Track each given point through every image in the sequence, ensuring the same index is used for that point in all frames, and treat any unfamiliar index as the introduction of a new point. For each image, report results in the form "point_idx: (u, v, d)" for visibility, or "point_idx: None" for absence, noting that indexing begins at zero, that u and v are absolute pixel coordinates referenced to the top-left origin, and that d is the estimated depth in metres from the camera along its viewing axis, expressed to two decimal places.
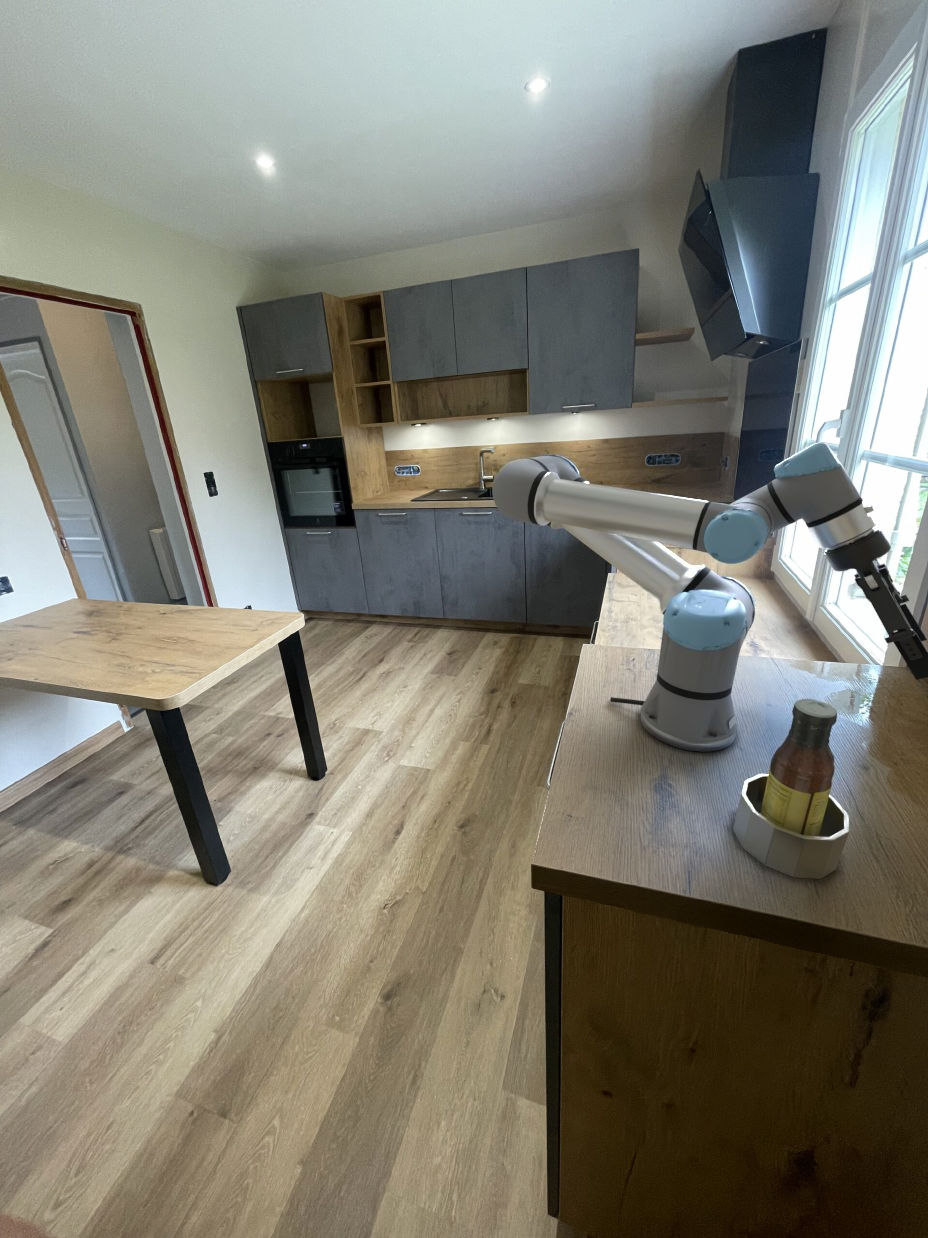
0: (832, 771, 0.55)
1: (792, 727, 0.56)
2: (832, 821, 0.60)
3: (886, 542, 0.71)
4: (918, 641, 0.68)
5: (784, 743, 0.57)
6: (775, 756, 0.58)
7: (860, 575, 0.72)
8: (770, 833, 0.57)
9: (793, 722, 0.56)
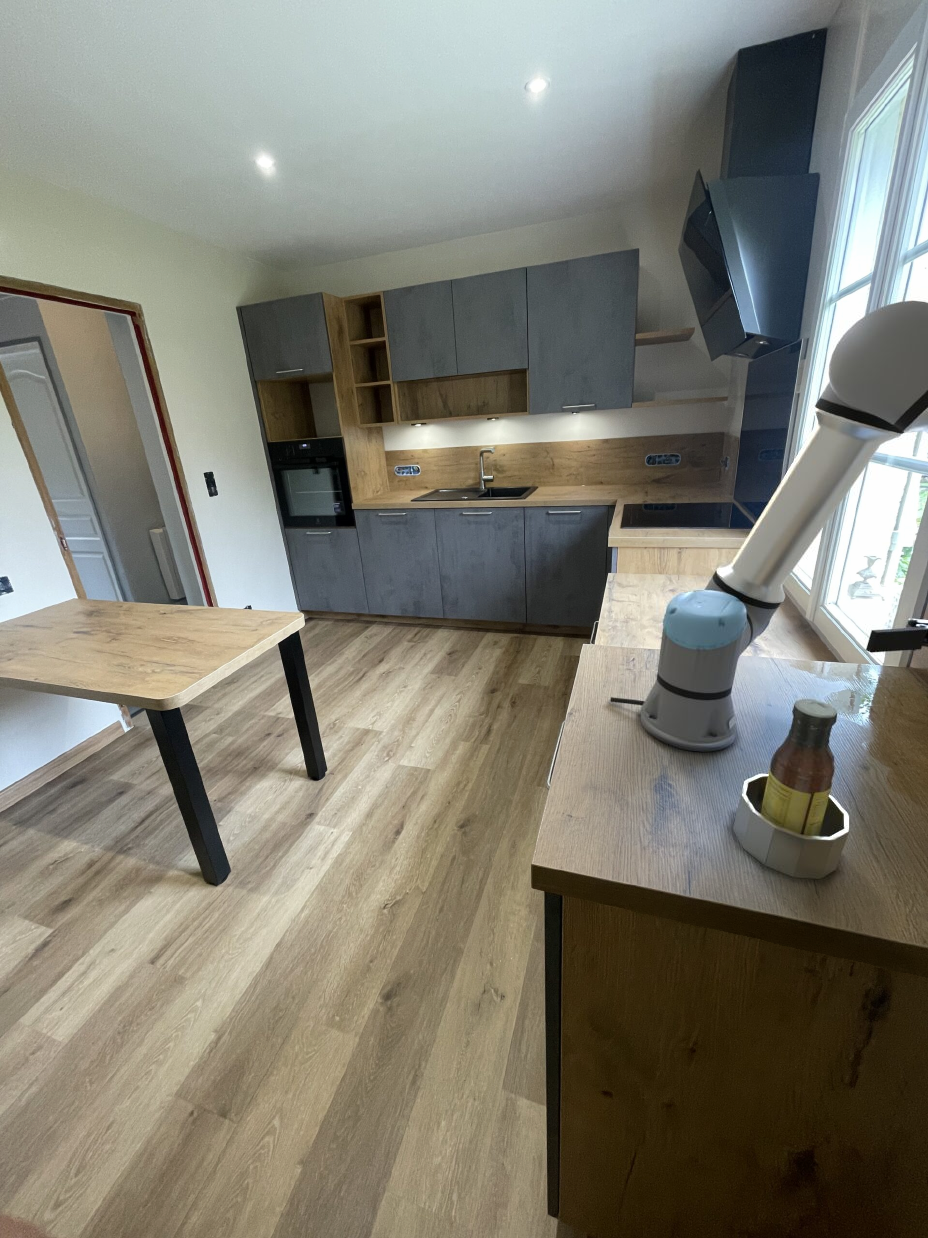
0: (832, 771, 0.55)
1: (792, 727, 0.56)
2: (832, 821, 0.60)
3: None
4: None
5: (784, 743, 0.57)
6: (775, 756, 0.58)
7: None
8: (770, 833, 0.57)
9: (793, 722, 0.56)
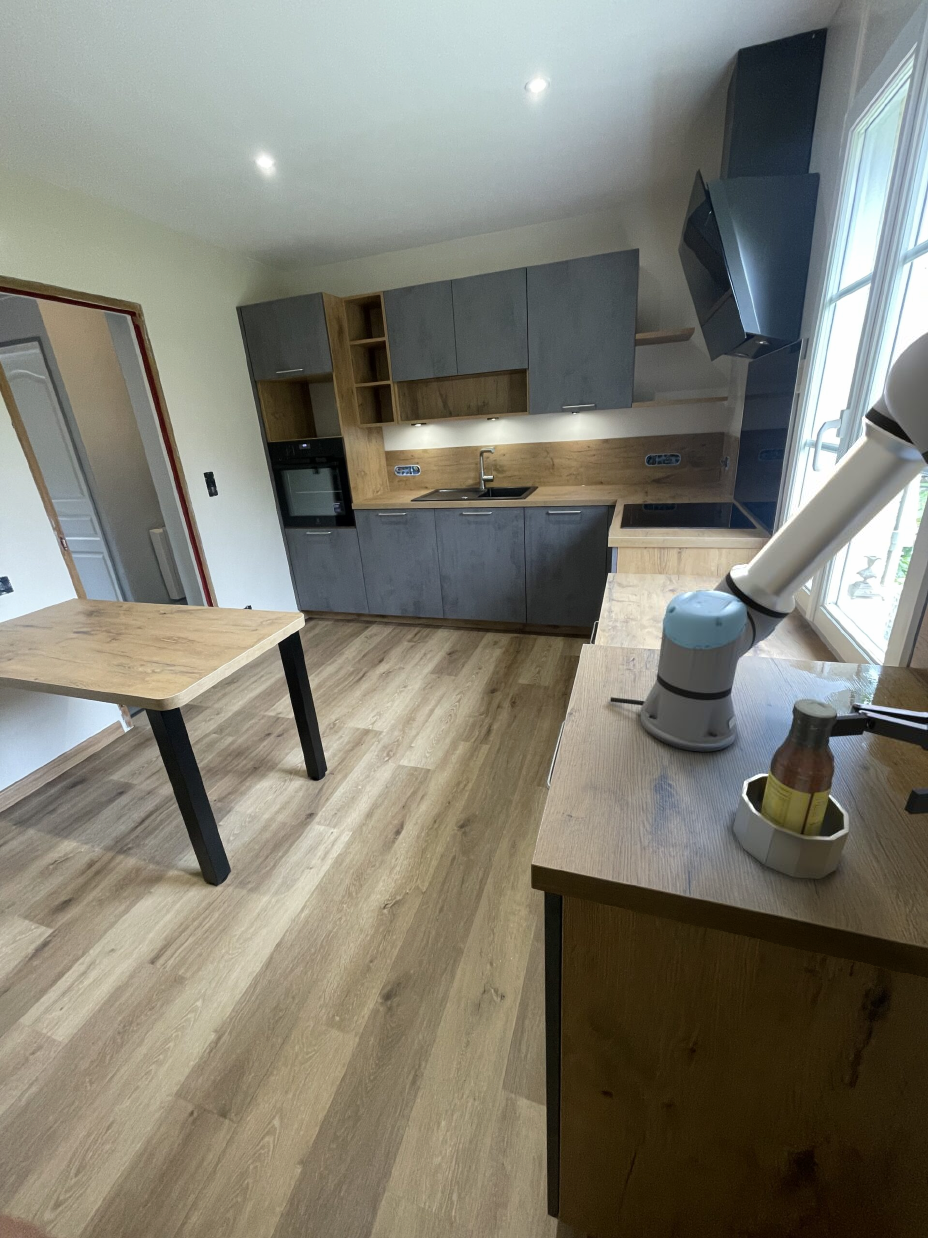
0: (832, 771, 0.55)
1: (792, 727, 0.56)
2: (832, 821, 0.60)
3: None
4: None
5: (784, 743, 0.57)
6: (775, 756, 0.58)
7: None
8: (770, 833, 0.57)
9: (793, 722, 0.56)
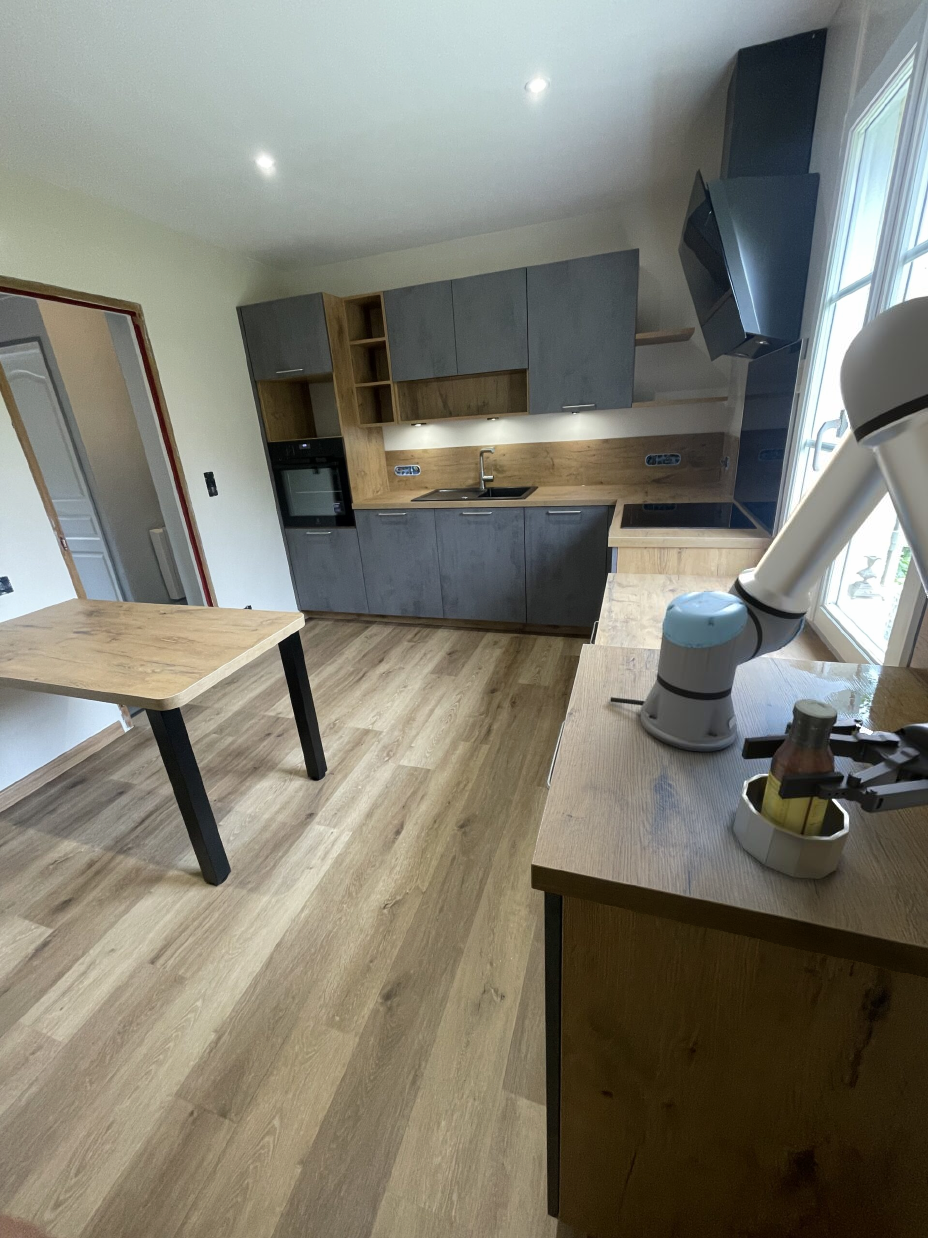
0: (832, 771, 0.55)
1: (792, 727, 0.56)
2: (832, 821, 0.60)
3: None
4: None
5: (784, 743, 0.57)
6: (775, 756, 0.58)
7: None
8: (770, 833, 0.57)
9: (793, 722, 0.56)
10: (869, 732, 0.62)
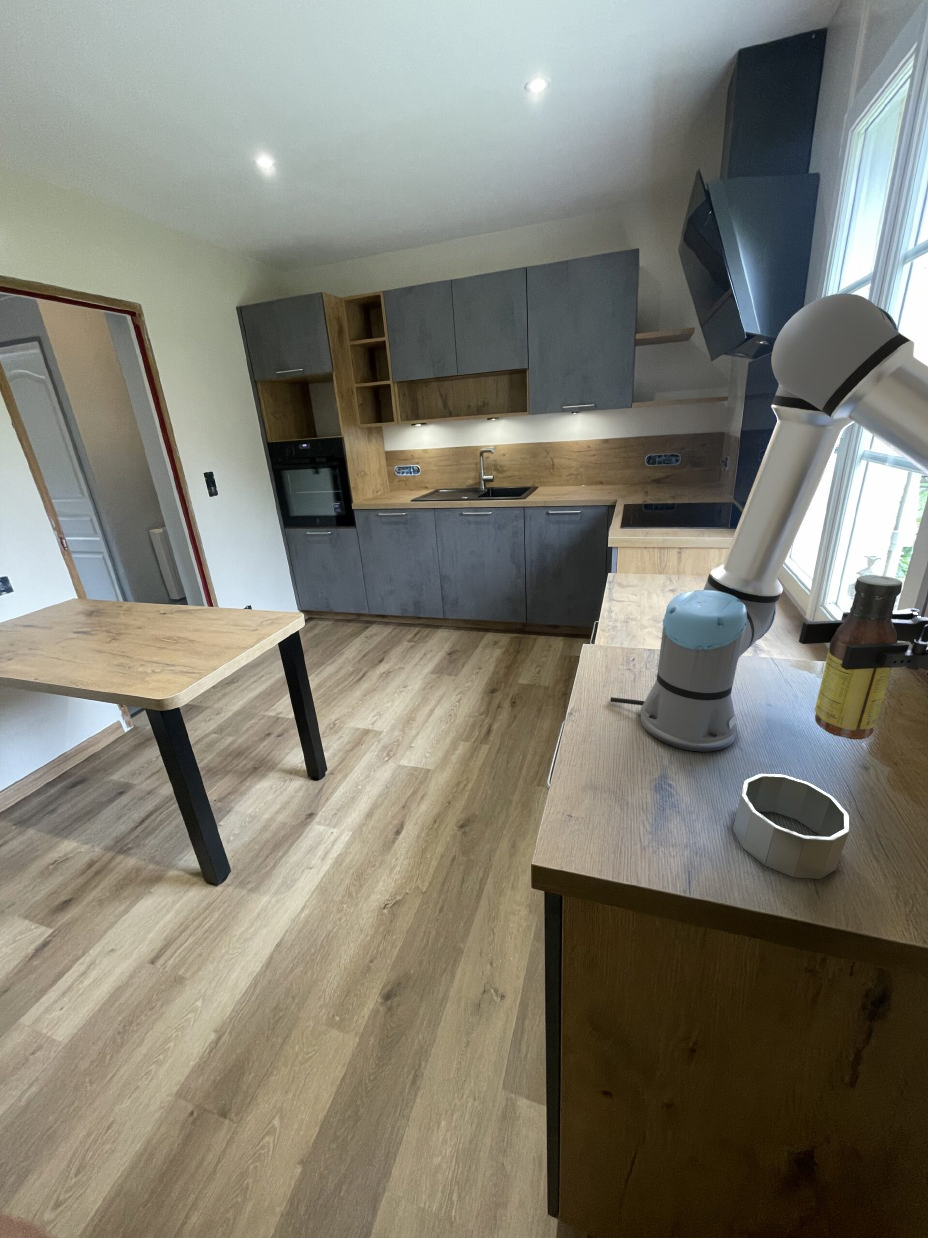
0: None
1: (854, 603, 0.56)
2: (832, 821, 0.60)
3: None
4: None
5: (845, 621, 0.57)
6: (835, 635, 0.58)
7: None
8: (770, 833, 0.57)
9: (856, 597, 0.56)
10: None
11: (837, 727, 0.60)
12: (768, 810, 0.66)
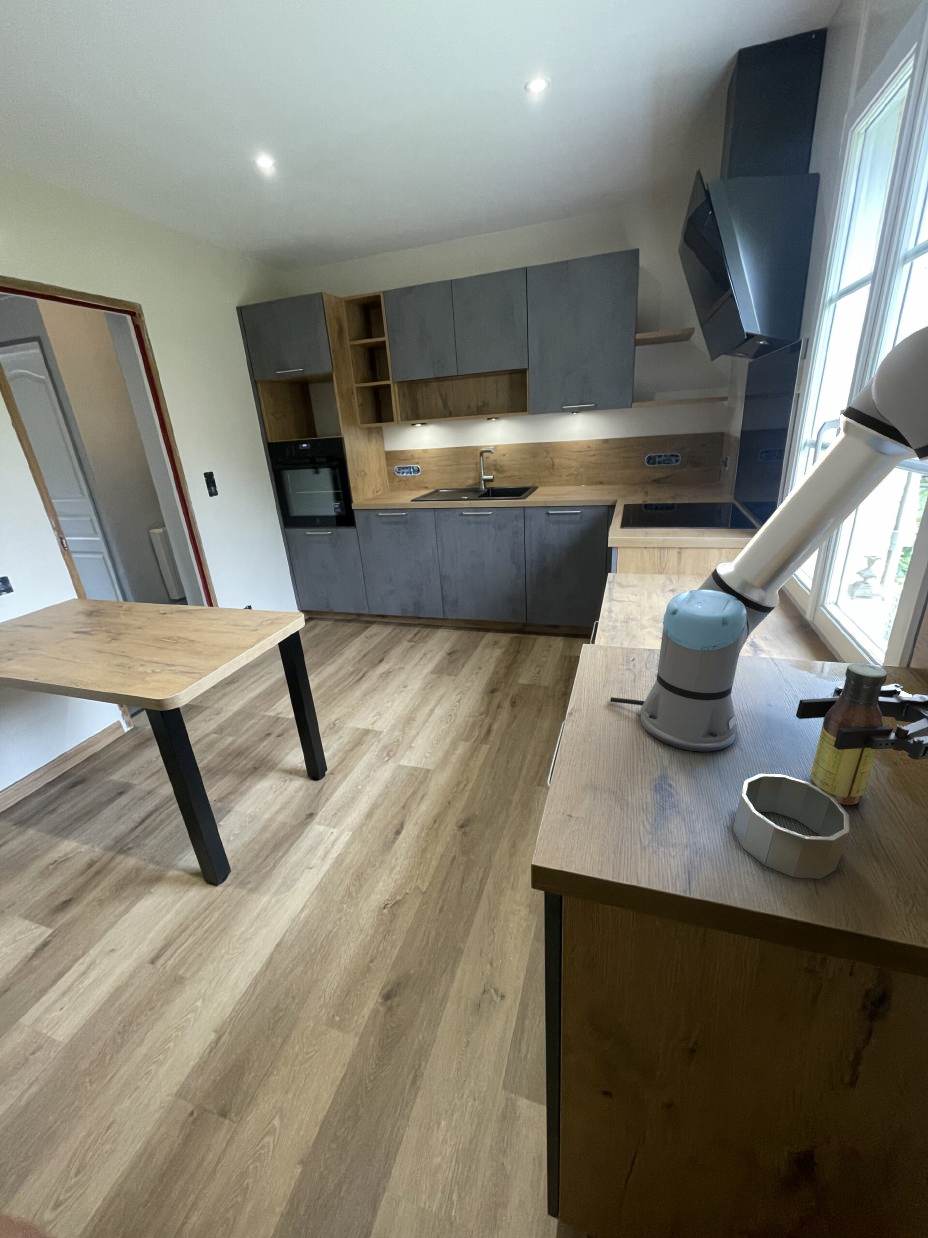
0: (881, 725, 0.62)
1: (845, 687, 0.64)
2: (832, 821, 0.60)
3: None
4: None
5: (837, 702, 0.65)
6: (829, 714, 0.65)
7: None
8: (770, 833, 0.57)
9: (846, 682, 0.63)
10: (908, 695, 0.69)
11: (830, 794, 0.67)
12: (768, 810, 0.66)
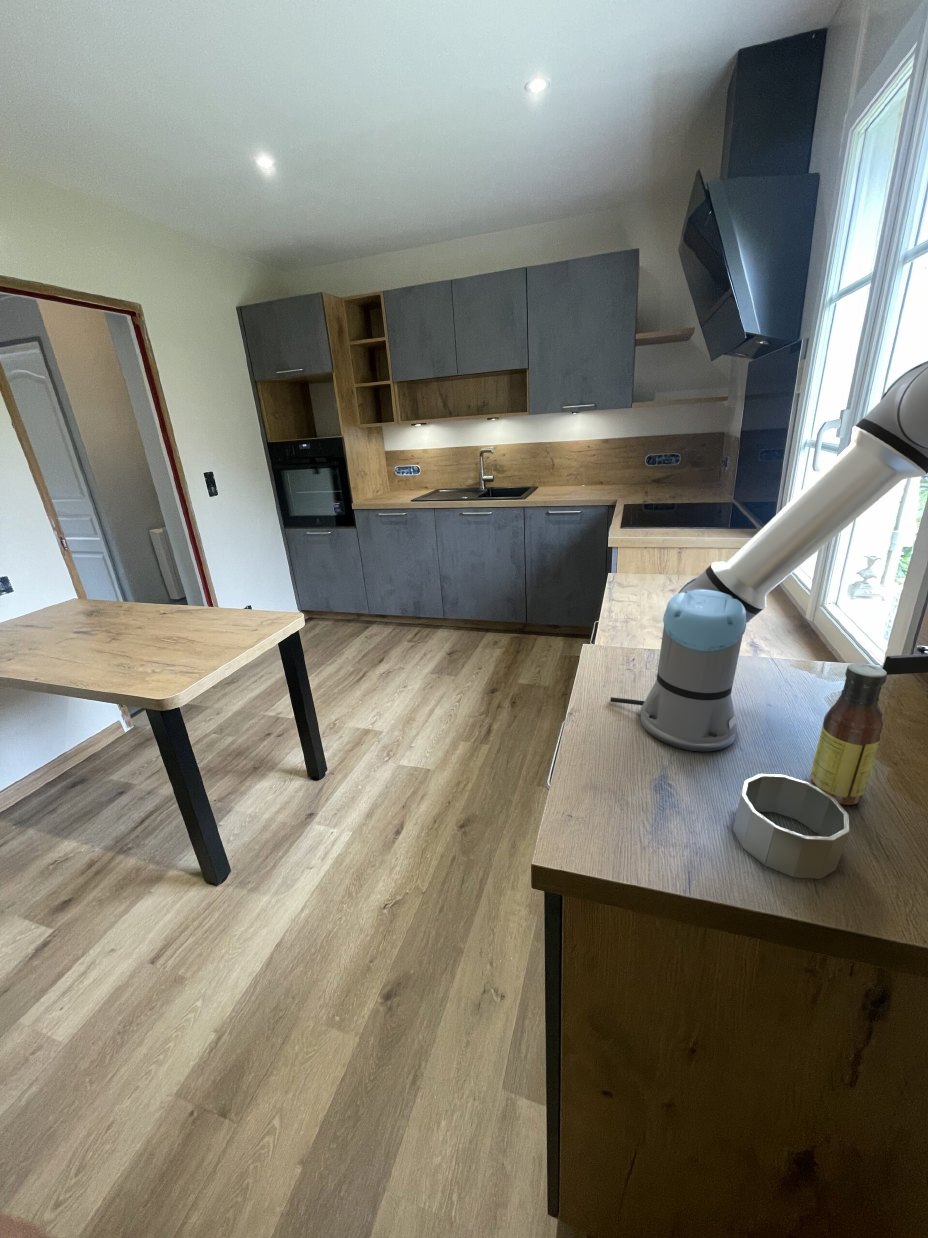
0: (881, 725, 0.62)
1: (845, 687, 0.64)
2: (832, 821, 0.60)
3: None
4: None
5: (837, 702, 0.65)
6: (829, 714, 0.65)
7: None
8: (770, 833, 0.57)
9: (846, 682, 0.63)
10: None
11: (830, 794, 0.67)
12: (768, 810, 0.66)
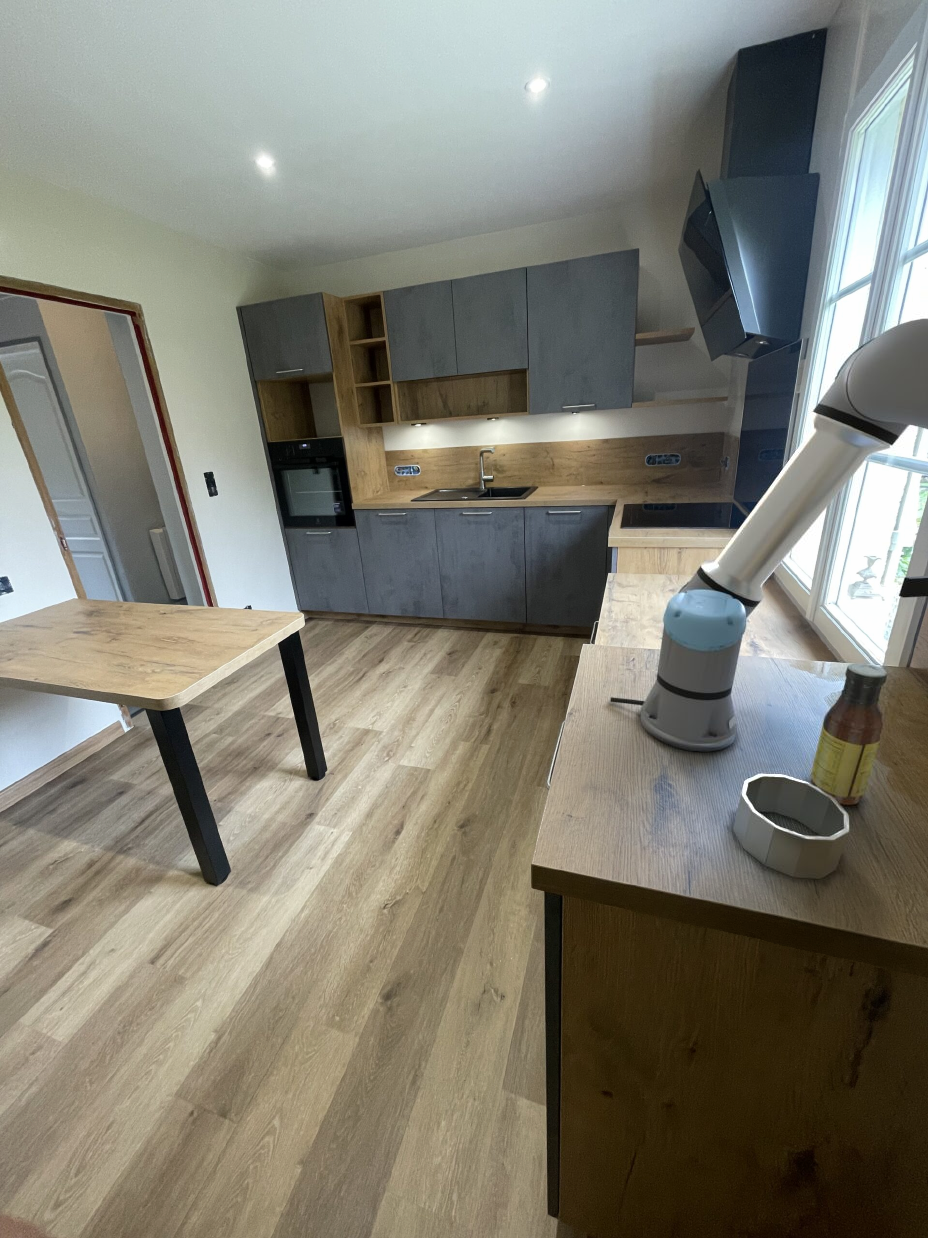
0: (881, 725, 0.62)
1: (845, 687, 0.64)
2: (832, 821, 0.60)
3: None
4: None
5: (837, 702, 0.65)
6: (829, 714, 0.65)
7: None
8: (770, 833, 0.57)
9: (846, 682, 0.63)
10: None
11: (830, 794, 0.67)
12: (768, 810, 0.66)
